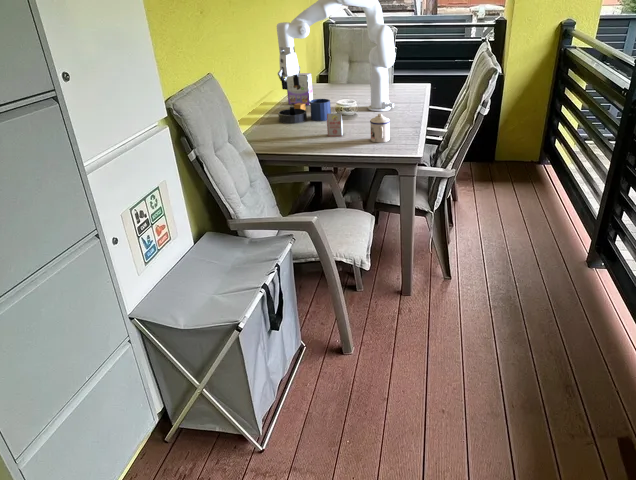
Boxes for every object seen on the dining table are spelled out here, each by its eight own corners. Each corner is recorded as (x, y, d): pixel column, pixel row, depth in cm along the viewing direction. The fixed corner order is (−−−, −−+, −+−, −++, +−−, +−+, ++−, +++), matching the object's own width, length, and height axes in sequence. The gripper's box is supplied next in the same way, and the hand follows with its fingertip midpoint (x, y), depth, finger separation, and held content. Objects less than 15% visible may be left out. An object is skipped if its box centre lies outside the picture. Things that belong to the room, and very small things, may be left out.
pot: (334, 117, 282) (333, 99, 278) (323, 121, 275) (322, 104, 270) (318, 115, 287) (317, 97, 282) (307, 119, 280) (305, 102, 275)
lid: (307, 117, 282) (307, 105, 278) (295, 122, 273) (294, 110, 270) (290, 115, 287) (289, 103, 283) (277, 120, 279) (276, 108, 275)
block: (305, 111, 294) (305, 103, 291) (301, 113, 291) (300, 105, 288) (299, 111, 296) (298, 102, 293) (294, 112, 293) (293, 104, 290)
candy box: (313, 103, 311) (311, 73, 302) (309, 105, 306) (307, 75, 298) (292, 102, 315) (289, 72, 306) (287, 104, 310) (285, 74, 302)
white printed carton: (328, 134, 256) (327, 112, 250) (342, 134, 255) (341, 112, 250) (327, 136, 253) (326, 114, 247) (341, 136, 252) (340, 114, 247)
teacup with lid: (369, 137, 249) (369, 111, 242) (388, 136, 249) (389, 111, 243) (371, 145, 239) (371, 118, 232) (391, 144, 239) (392, 117, 233)
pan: (312, 118, 282) (311, 110, 280) (295, 124, 272) (295, 116, 270) (290, 115, 289) (289, 107, 287) (273, 121, 278) (272, 113, 276)
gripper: (282, 53, 255) (286, 91, 264) (303, 48, 267) (306, 84, 276) (269, 53, 258) (274, 90, 267) (291, 47, 270) (295, 83, 279)
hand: (291, 87), depth 272 cm, fingers open, 9 cm apart
